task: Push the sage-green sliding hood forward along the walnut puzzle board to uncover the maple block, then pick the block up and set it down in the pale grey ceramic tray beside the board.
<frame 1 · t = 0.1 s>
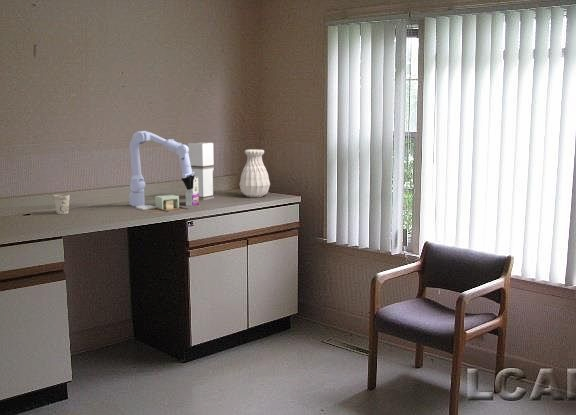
hand: (190, 189, 376), 11 cm above the table, tool pointing down, fingers open, 4 cm apart
candy bar box: (192, 205, 387), on the table, touching gripper
block: (167, 208, 371), point 1 cm above the table, touching puzzle board
white two-part pillar: (201, 198, 416), on the table
vase: (254, 196, 425), on the table
tray: (145, 208, 370), resting on puzzle board
hood: (167, 201, 371), point 4 cm above the table, slide at 0.0 cm
puzzle board: (160, 210, 369), on the table
mug: (62, 212, 361), on the table
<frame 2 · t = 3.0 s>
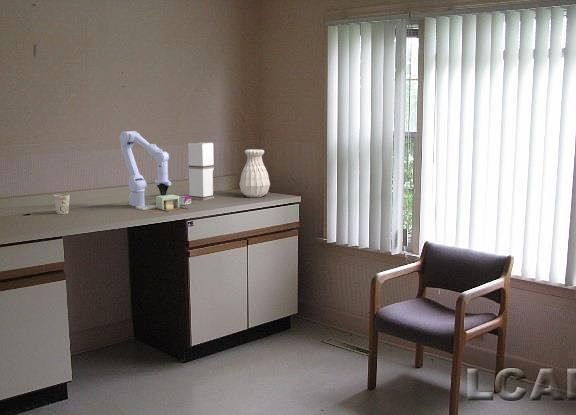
hand: (163, 196, 373), 7 cm above the table, tool pointing down, fingers closed
candy bar box: (188, 201, 387), point 3 cm above the table, touching puzzle board
hood: (167, 202, 371), point 4 cm above the table, slide at 0.5 cm, touching gripper
everything else where it was.
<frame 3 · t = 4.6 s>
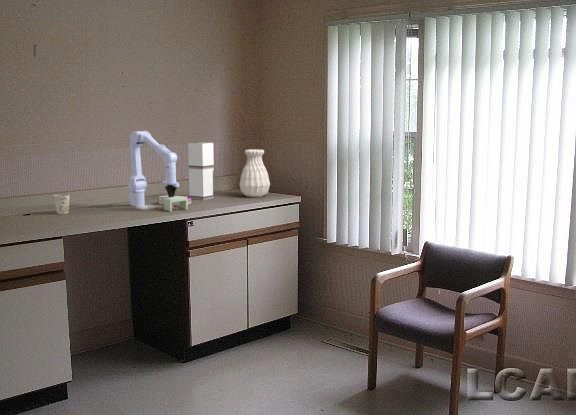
hand: (171, 198, 367), 7 cm above the table, tool pointing down, fingers closed
hood: (175, 203, 364), point 4 cm above the table, slide at 8.9 cm, touching gripper
everything else where it was.
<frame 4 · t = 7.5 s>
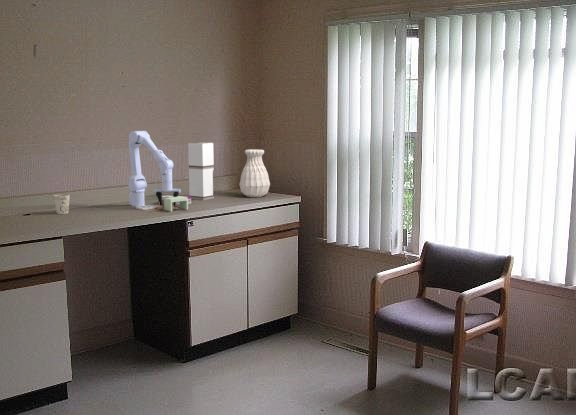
hand: (167, 205, 371), 3 cm above the table, tool pointing down, fingers open, 7 cm apart
hood: (176, 203, 364), point 4 cm above the table, slide at 9.4 cm, touching gripper
everything else where it was.
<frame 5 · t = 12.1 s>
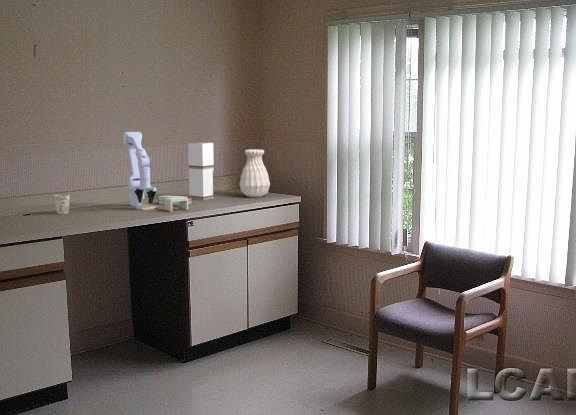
hand: (145, 203, 369), 4 cm above the table, tool pointing down, fingers open, 7 cm apart
block: (145, 207, 370), point 1 cm above the table, touching tray
hood: (176, 203, 364), point 4 cm above the table, slide at 9.5 cm
everything else where it was.
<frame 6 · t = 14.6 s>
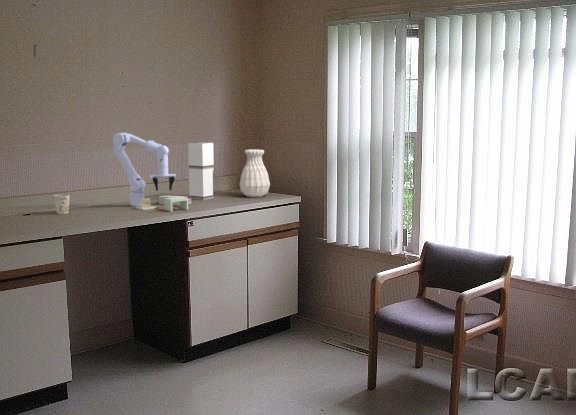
hand: (163, 190, 378), 10 cm above the table, tool pointing down, fingers open, 7 cm apart
nothing on the table moved.
at the end: hood slide at 9.5 cm; block 0.1 cm off-centre on the tray, point 0.5 cm above the tray's base; block tilted 0° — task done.
